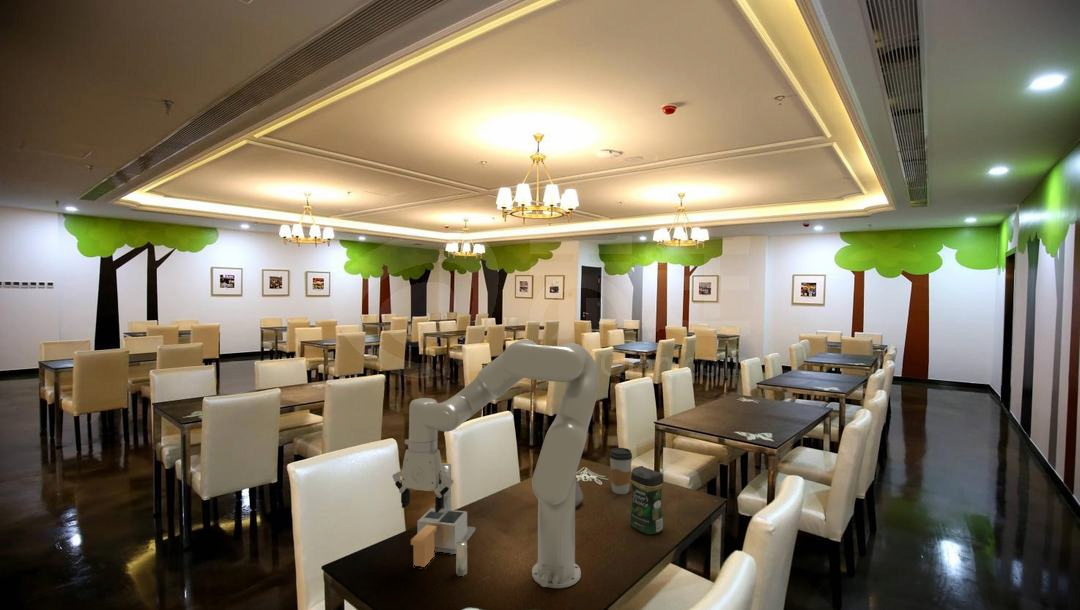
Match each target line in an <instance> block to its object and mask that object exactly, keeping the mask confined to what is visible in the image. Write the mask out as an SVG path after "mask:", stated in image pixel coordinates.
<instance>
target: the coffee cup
mask: <svg viewBox="0 0 1080 610" xmlns="http://www.w3.org/2000/svg"><path fill="white" fill-rule="evenodd" d="M608 458H609V462H610V463H609V464H610V466H609V467H610V469H609V470H610V483H611V484H610V485H611V491H612V492H613V493H614V494H617V495H626V494H628V493H629V492H630V486H631V485H630V484H631V475H632V460H633V453H632V450H631V449H630V448H626V447H614V448H611V449H610V452H609V457H608Z"/></svg>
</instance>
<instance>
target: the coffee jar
mask: <svg viewBox="0 0 1080 610" xmlns="http://www.w3.org/2000/svg"><path fill="white" fill-rule="evenodd" d="M630 484H631V488H632V499H631V509H630V511H631V512H630V526H631V527H632V528H633V529H634V530H637V531H638V532H641V533H643V534H646V535H656V534H659V533H661V532H662V531H663V529H664V521H663V520H664V519H663V518H664V517H663V508H662V506H663V505H662V491H663V487H664V476H663V473H662V472H661V471H660V472H659V471H656V470H653V469H651V468H647V467H646V466H645V467H644V466H643V465H640V466H637V467H636V466H635V467H634V468H633V469H631V478H630Z"/></svg>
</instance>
